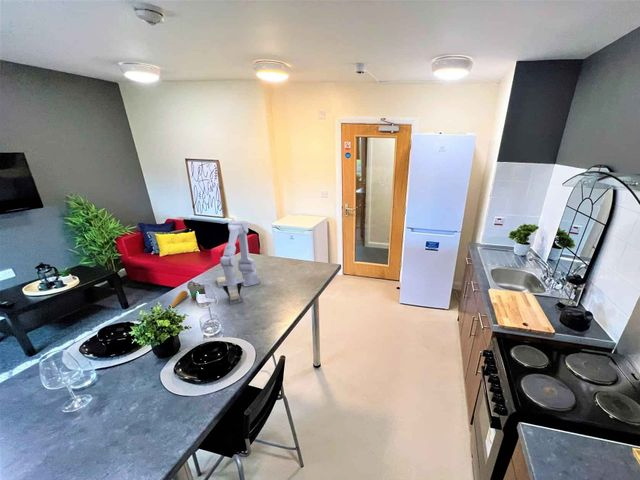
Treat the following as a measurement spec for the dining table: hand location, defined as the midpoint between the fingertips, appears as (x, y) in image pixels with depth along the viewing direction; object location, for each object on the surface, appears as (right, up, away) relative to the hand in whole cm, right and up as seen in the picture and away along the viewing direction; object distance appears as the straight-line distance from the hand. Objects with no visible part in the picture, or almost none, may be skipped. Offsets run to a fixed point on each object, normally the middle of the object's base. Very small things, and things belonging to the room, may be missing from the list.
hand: (234, 295), depth 174 cm
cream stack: (-18, +7, +22) cm, 29 cm away
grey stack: (0, -3, +1) cm, 3 cm away
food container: (-23, -2, +1) cm, 24 cm away
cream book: (0, 0, 0) cm, 0 cm away
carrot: (-32, -4, -4) cm, 33 cm away
